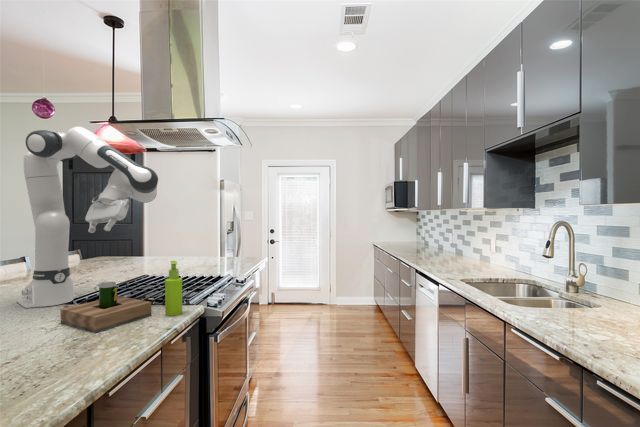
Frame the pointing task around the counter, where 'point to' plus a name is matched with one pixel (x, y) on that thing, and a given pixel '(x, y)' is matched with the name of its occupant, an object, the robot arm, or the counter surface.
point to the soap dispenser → (173, 292)
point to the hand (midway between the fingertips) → (98, 231)
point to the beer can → (107, 295)
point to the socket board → (105, 314)
